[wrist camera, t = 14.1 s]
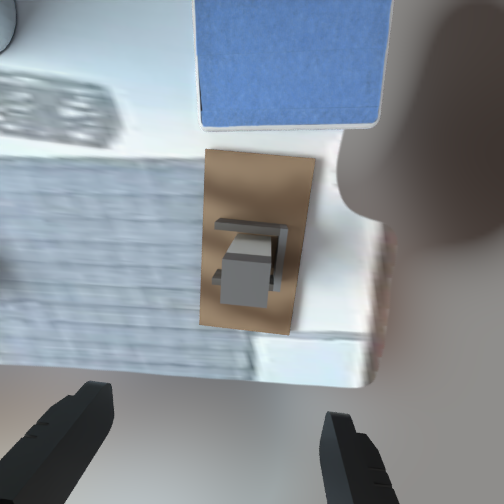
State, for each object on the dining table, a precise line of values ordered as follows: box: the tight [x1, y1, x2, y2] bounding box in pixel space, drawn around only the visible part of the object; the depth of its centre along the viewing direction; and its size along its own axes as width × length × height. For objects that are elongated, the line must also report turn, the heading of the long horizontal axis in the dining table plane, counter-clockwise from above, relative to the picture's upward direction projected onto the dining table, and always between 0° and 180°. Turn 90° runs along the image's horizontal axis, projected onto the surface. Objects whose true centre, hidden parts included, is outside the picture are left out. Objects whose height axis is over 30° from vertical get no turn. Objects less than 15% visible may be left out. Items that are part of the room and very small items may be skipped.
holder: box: [199, 149, 315, 335], centre depth 30 cm, size 22×12×4 cm, turn 175°
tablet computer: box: [192, 0, 394, 132], centre depth 26 cm, size 19×13×1 cm, turn 90°
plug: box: [220, 234, 271, 308], centre depth 26 cm, size 4×4×10 cm
